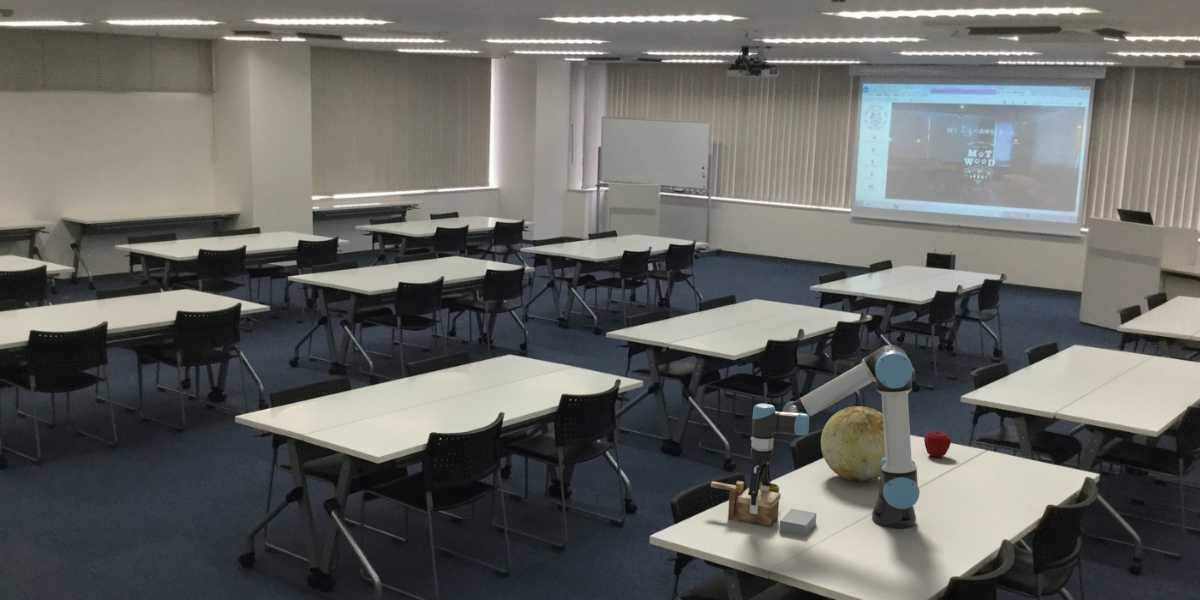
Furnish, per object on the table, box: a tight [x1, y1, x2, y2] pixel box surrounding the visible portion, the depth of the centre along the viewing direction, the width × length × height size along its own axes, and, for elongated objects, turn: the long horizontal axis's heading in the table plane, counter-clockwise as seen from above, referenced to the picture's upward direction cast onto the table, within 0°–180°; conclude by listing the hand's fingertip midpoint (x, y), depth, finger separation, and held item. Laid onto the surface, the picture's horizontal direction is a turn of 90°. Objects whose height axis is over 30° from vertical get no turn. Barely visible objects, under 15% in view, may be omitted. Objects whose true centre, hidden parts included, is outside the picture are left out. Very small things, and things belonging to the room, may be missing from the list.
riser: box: [779, 508, 817, 538], centre depth 360 cm, size 9×14×4 cm, turn 154°
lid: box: [738, 487, 781, 508], centre depth 366 cm, size 12×11×3 cm
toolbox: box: [727, 480, 780, 528], centre depth 367 cm, size 16×9×12 cm, turn 64°
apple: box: [923, 430, 952, 458], centre depth 451 cm, size 11×11×12 cm
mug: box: [759, 482, 780, 493], centre depth 382 cm, size 12×10×10 cm
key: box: [710, 480, 745, 493], centre depth 370 cm, size 12×3×3 cm, turn 64°
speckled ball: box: [820, 405, 885, 483], centre depth 414 cm, size 30×30×30 cm
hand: (758, 508), depth 366 cm, fingers closed on lid, 11 cm apart
